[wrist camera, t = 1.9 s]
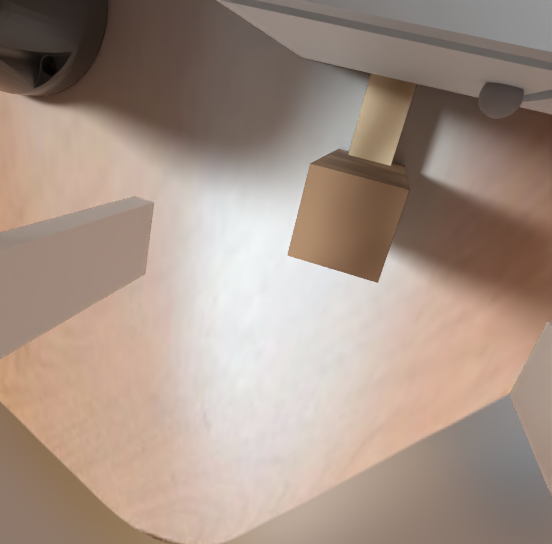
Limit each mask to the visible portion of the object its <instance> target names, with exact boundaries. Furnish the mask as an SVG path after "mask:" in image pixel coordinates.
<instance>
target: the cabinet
mask: <svg viewBox="0 0 552 544" xmlns="http://www.w3.org/2000/svg"><path fill="white" fill-rule="evenodd" d="M217 1H218V2H220V3H221V4H223V5H224V6H226V7H227V8H228V9H230V10H231V11H233V12H234V13H236V14H237V15H239V16H240V17H242V18H243V19H245V20H246V21H248V22H249V23H251V24H252V25H254V26H255V27H257V28H258V29H260V30H261V31H263V32H264V33H266V34H267V35H269V36H270V37H272V38H273V39H275V40H276V41H278V42H279V43H281V44H282V45H284V46H285V47H287V48H288V49H290V50H291V51H293V52H294V53H296V54H297V55H299V56H300V57H302V58H306V59H310V60H315V61H319V62H323V63H328V64H332V65H337V66H341V67H345V68H350V69H354V70H359V71H363V72H367V73H372V74H376V75H381V76H385V77H389V78H394V79H398V80H402V81H407V82H411V83H416V84H420V85H424V86H429V87H433V88H438V89H442V90H446V91H451V92H455V93H460V94H464V95H468V96H473V97H477V98H478V104H479V108H480V110H481V111H482V113H483V114H484V115H486V116H487V117H490V118H493V119H501V118H505V117H508V116H510V115H511V114H513V113H514V112H515V111H516V110H517V109H518V108H519V107H521V108H526V109H530V110H534V111H539V112H543V113H547V114H552V0H217Z"/></svg>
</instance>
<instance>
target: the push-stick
mask: <svg viewBox="0 0 552 544" xmlns="http://www.w3.org/2000/svg"><path fill="white" fill-rule="evenodd" d="M416 85H417V84H416V83H411V82H407V81H402V80H398V79H394V78H389V77H385V76H381V75H376V74H372V73H371V75H370V79H369V82H368V86H367V89H366V93H365V96H364V100H363V104H362V107H361V111H360V114H359V118H358V122H357V125H356V129H355V132H354V136H353V139H352V143H351V147H350V150H349V152H348V151H344V150H340V149H338V150H336V151H334V152H332V153H330V154H328V155H326V156H324V157H322V158H320V159H318V160H316V161H314V162H313V163H311V164H310V167H309V171H308V175H307V179H306V183H305V187H304V191H303V195H302V199H301V203H300V207H299V211H298V215H297V219H296V223H295V227H294V231H293V235H292V239H291V243H290V247H289V251H288V256H291V257H295V258H298V259H301V260H304V261H308V262H311V263H314V264H318V265H321V266H324V267H328V268H331V269H334V270H337V271H341V272H344V273H347V274H351V275H354V276H357V277H361V278H364V279H367V280H371V281H374V282H377V283H378V281H379V278H380V275H381V272H382V269H383V266H384V263H385V260H386V257H387V254H388V251H389V249H390V246H391V243H392V240H393V237H394V234H395V231H396V228H397V225H398V222H399V219H400V216H401V213H402V211H403V208H404V205H405V202H406V199H407V196H408V193H409V185H408V181H407V176H406V171H405V166H402V165H399V164H395V163H392V160H393V157H394V154H395V151H396V148H397V144H398V141H399V138H400V135H401V132H402V129H403V126H404V123H405V119H406V116H407V113H408V110H409V107H410V104H411V101H412V97H413V94H414V91H415V88H416Z"/></svg>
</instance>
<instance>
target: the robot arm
mask: <svg viewBox="0 0 552 544" xmlns="http://www.w3.org/2000/svg"><path fill="white" fill-rule="evenodd" d="M106 19H107V0H0V91H3V92H7V93H12V94H20V95H34V96H43V95H51V94H55V93H58V92H61V91H63V90H65V89H67V88H68V87H70V86H72V85H73V84H74V83H76V82H77V81H78V80H79V79H80V78H81V77H82V76H83V75H84V74H85V73H86V71H87V70H88V69H89V67H90V66H91V64H92V63H93V61H94V59H95V57H96V55H97V53H98V51H99V48H100V45H101V43H102V39H103V36H104V31H105V26H106ZM153 206H154V202H151V201H148V200H145V199H141V198H138V197H135V196H134V197H131V198H127V199H123V200H119V201H116V202H112V203H108V204H105V205H101V206H97V207H93V208H90V209H86V210H82V211H79V212H75V213H71V214H67V215H64V216H60V217H56V218H53V219H49V220H45V221H41V222H38V223H34V224H30V225H27V226H23V227H19V228H16V229H12V230H8V231H4V232H1V233H0V359H1V358H3V357H5V356H6V355H8V354H10V353H11V352H13V351H15V350H17V349H18V348H20V347H22V346H23V345H25V344H27V343H28V342H30V341H32V340H34V339H35V338H37V337H39V336H40V335H42V334H44V333H46V332H47V331H49V330H51V329H52V328H54V327H56V326H57V325H59V324H61V323H63V322H64V321H66V320H68V319H69V318H71V317H73V316H74V315H76V314H78V313H80V312H81V311H83V310H85V309H86V308H88V307H90V306H91V305H93V304H95V303H97V302H98V301H100V300H102V299H103V298H105V297H107V296H108V295H110V294H112V293H114V292H115V291H117V290H119V289H120V288H122V287H124V286H126V285H127V284H129V283H131V282H132V281H134V280H136V279H137V278H139V277H141V276H143V275H144V274H145V271H146V263H147V255H148V247H149V239H150V231H151V223H152V215H153ZM510 397H511V400H512V402H513V405H514V407H515V409H516V412H517V414H518V417H519V419H520V422H521V424H522V426H523V429H524V431H525V434H526V436H527V439H528V441H529V443H530V446H531V448H532V451H533V453H534V455H535V458H536V460H537V463H538V465H539V468H540V470H541V472H542V475H543V477H544V479H545V482H546V484H547V487H548V489H549V492H550V494H551V496H552V322H550V321H547V323H546V325H545V327H544V329H543V331H542V333H541V335H540V337H539V339H538V341H537V342H536V344H535V346H534V348H533V350H532V352H531V354H530V356H529V358H528V360H527V362H526V364H525V366H524V368H523V370H522V371H521V373H520V375H519V377H518V379H517V381H516V383H515V385H514V387H513V389H512V391H511V393H510Z"/></svg>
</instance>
